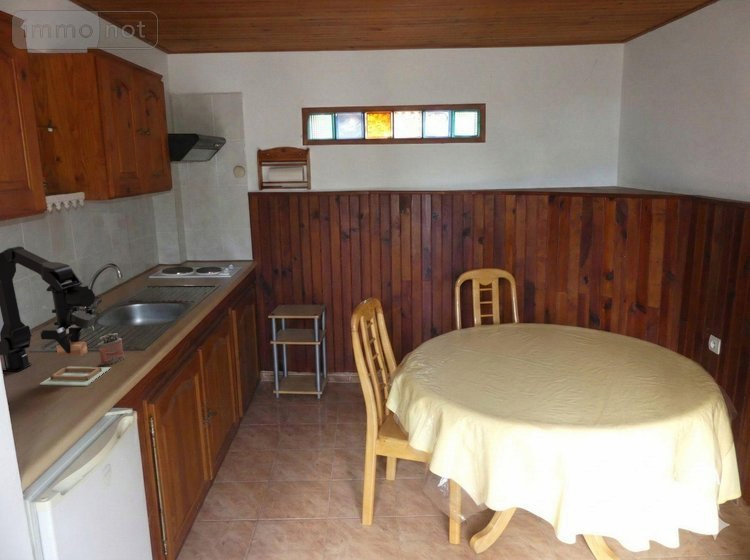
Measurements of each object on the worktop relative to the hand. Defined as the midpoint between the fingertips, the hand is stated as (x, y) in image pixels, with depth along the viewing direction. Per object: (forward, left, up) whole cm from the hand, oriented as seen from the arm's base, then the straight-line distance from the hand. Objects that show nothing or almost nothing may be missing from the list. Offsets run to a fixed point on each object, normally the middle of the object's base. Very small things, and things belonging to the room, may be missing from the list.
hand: (72, 350), depth 188 cm
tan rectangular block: (0, 0, -1) cm, 1 cm away
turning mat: (0, 0, -9) cm, 9 cm away
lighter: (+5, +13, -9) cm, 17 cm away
